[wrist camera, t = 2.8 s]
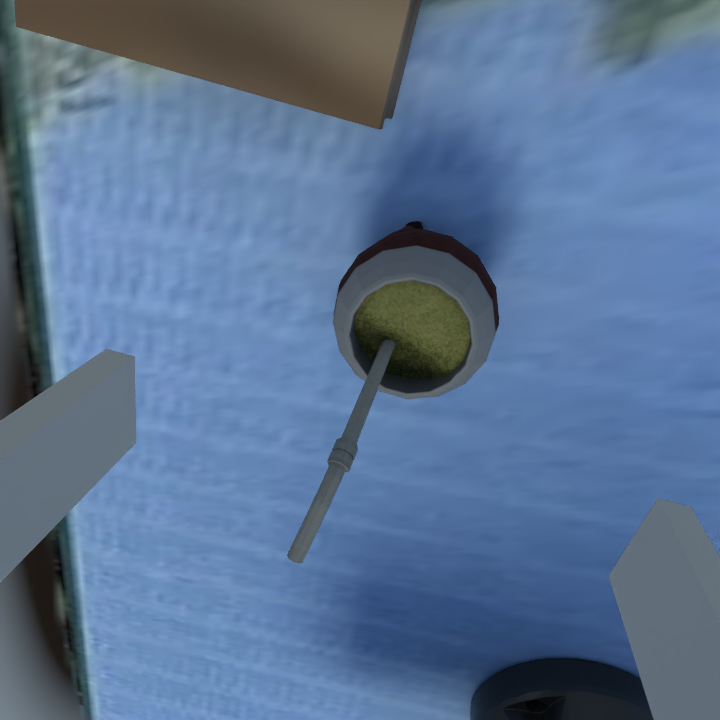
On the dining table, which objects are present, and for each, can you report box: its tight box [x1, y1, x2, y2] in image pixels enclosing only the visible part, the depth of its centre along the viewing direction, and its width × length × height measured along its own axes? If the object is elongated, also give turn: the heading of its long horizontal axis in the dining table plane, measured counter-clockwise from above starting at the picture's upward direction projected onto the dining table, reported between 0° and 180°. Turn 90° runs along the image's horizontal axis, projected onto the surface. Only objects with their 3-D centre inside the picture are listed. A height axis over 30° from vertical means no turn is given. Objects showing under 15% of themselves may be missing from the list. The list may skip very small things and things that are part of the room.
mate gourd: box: [287, 221, 499, 563], centre depth 20 cm, size 8×8×15 cm
